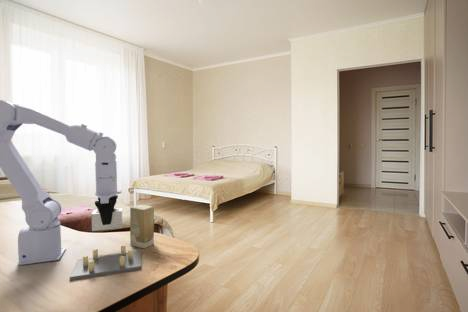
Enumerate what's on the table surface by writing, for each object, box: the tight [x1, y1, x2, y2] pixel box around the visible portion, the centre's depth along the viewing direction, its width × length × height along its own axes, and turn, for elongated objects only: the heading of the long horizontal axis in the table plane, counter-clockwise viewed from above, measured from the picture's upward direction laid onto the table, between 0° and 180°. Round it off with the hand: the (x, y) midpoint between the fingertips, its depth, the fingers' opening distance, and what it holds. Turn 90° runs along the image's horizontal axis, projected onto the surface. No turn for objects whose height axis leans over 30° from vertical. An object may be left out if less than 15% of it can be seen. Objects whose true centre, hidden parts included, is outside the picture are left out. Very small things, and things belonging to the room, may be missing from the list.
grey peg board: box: [69, 245, 142, 281], centre depth 71 cm, size 16×10×3 cm, turn 110°
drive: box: [91, 207, 124, 232], centre depth 82 cm, size 8×4×5 cm, turn 110°
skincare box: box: [129, 203, 155, 249], centre depth 85 cm, size 6×4×12 cm
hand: (107, 221), depth 82 cm, fingers closed on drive, 4 cm apart
